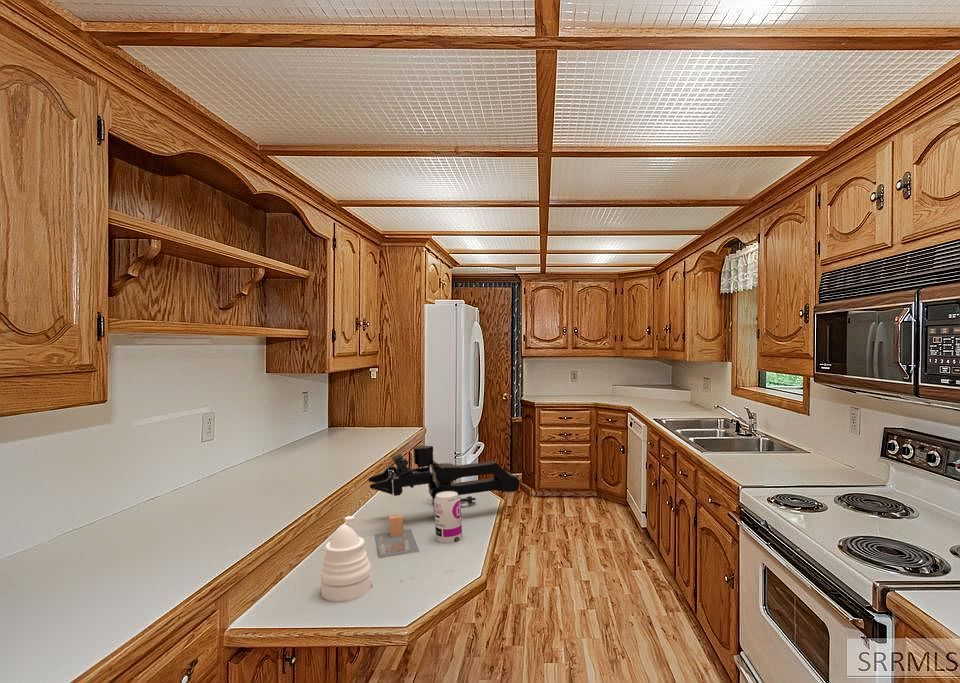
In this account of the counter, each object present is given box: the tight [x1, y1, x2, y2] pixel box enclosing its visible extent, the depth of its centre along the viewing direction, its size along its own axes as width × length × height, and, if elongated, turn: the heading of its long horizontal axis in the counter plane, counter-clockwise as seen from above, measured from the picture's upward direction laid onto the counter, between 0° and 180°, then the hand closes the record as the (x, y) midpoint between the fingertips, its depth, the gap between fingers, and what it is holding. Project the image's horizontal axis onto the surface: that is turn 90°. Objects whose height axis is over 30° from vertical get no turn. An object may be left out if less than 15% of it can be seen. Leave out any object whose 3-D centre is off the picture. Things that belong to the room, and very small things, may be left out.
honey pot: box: [320, 515, 373, 602], centre depth 135 cm, size 13×13×18 cm
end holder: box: [378, 533, 411, 557], centre depth 156 cm, size 9×7×4 cm
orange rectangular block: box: [388, 514, 404, 538], centre depth 168 cm, size 4×3×6 cm
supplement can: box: [433, 491, 463, 544], centre depth 163 cm, size 8×8×15 cm
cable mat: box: [373, 528, 421, 559], centre depth 161 cm, size 12×20×1 cm, turn 15°
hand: (369, 482), depth 176 cm, fingers open, 9 cm apart
